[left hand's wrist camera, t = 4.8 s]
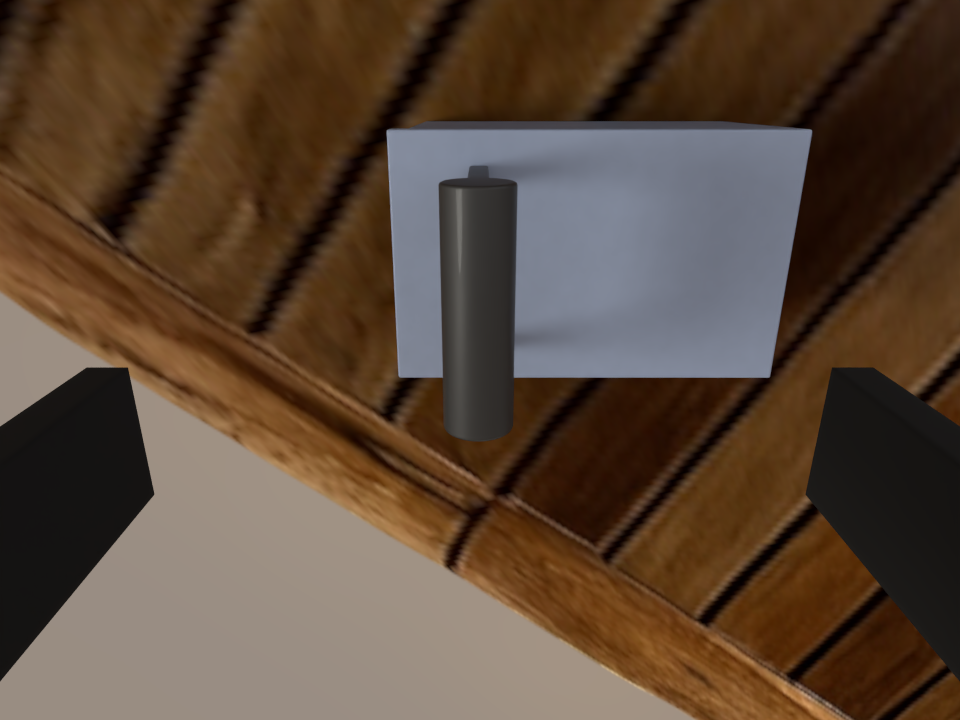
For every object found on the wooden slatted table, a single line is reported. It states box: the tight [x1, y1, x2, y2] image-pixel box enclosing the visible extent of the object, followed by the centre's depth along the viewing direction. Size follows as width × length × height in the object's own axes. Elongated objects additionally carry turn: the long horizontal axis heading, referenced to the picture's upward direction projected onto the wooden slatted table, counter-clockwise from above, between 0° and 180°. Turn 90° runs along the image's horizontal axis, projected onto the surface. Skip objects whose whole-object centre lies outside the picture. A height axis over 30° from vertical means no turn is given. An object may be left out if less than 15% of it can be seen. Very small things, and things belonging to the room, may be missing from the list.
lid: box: [387, 129, 812, 441], centre depth 22 cm, size 15×10×8 cm, turn 90°
